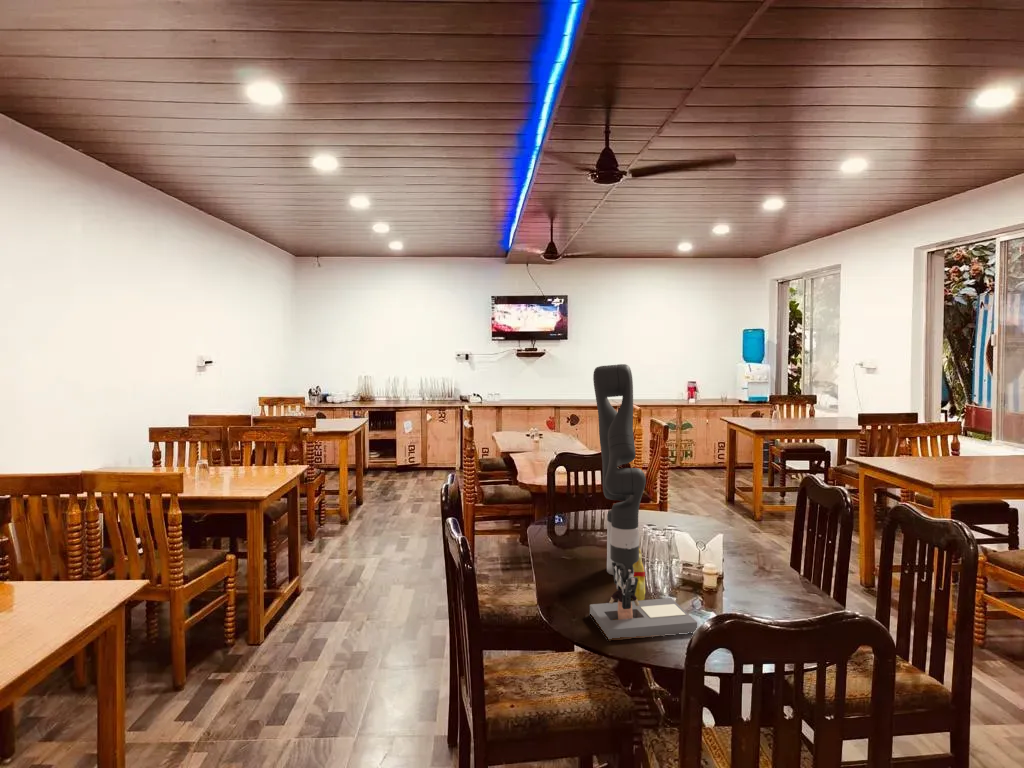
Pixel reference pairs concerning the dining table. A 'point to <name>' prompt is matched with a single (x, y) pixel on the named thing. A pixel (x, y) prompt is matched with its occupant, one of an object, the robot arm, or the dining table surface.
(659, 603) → the pocket holder
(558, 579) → the dining table surface
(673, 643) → the dining table surface
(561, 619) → the dining table surface
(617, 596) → the grandmother figurine
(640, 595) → the chocolate bunny
